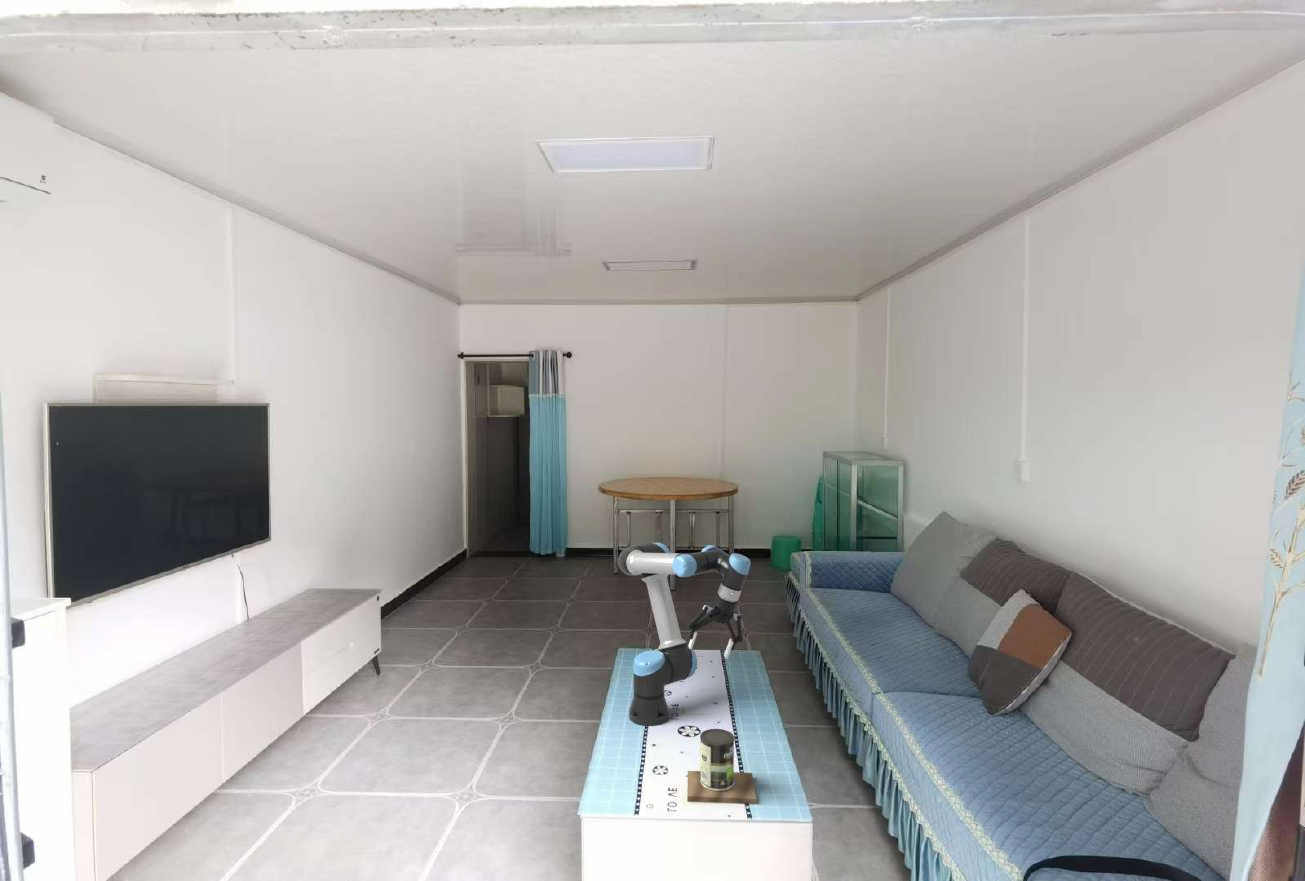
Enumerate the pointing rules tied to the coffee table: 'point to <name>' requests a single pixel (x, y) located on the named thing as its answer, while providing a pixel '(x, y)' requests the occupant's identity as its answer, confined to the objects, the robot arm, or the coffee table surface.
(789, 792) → the coffee table surface
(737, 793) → the walnut board
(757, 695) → the coffee table surface
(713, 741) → the coffee can
